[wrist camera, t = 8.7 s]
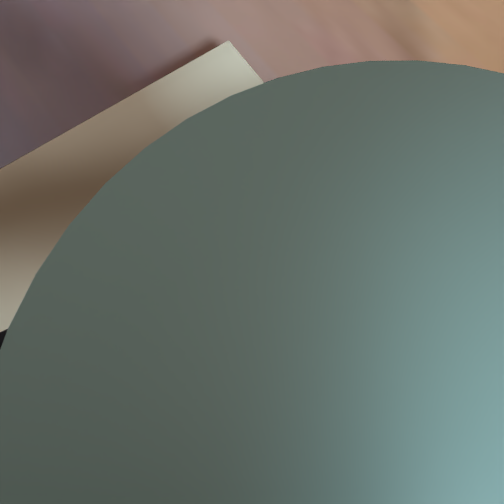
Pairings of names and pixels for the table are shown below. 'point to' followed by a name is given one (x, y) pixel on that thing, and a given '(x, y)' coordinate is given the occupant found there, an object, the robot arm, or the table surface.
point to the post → (277, 306)
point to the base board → (97, 162)
